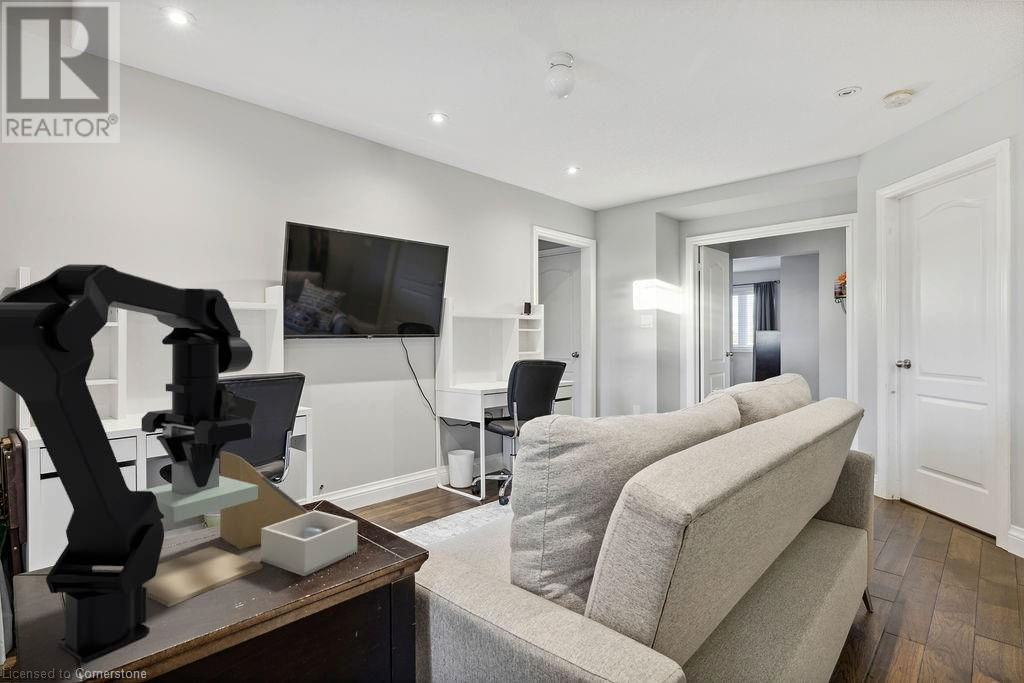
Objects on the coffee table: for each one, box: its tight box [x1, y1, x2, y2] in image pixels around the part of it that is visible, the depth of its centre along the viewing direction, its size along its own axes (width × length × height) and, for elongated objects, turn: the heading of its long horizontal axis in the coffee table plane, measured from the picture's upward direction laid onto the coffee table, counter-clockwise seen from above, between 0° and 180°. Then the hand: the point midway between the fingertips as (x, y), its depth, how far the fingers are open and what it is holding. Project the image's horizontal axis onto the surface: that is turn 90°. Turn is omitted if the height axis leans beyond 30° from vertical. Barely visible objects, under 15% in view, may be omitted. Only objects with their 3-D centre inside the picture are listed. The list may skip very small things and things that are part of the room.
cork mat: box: [142, 546, 263, 608], centre depth 75 cm, size 13×13×1 cm
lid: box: [139, 458, 258, 523], centre depth 75 cm, size 12×12×6 cm
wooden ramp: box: [219, 450, 310, 550], centre depth 93 cm, size 9×15×15 cm, turn 139°
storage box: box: [260, 510, 358, 577], centre depth 82 cm, size 10×10×5 cm
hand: (195, 485), depth 75 cm, fingers closed on lid, 3 cm apart
